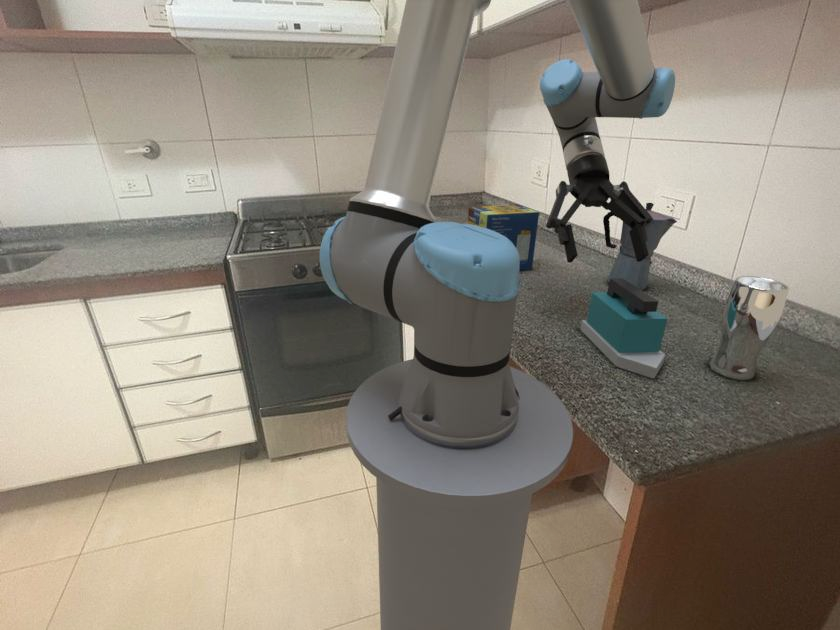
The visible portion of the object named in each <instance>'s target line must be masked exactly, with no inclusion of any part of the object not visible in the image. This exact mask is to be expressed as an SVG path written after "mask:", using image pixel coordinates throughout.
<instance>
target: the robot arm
mask: <svg viewBox="0 0 840 630" xmlns="http://www.w3.org/2000/svg"><path fill="white" fill-rule="evenodd" d="M491 1H492V0H405V4H404V8H403V9H404V10H403V13H402V18H401V22H400V26H399V32H398V36H397V40H396V41H397V42H396V44H395V48H394V54H393V57H392V63H391V67H390V70H389V71H390V72H389V76H388V79H387V85H386V90H385V94H384V98H383V103H382V108H381V112H380V117H379V121H378V126H377V130H376V135H375V139H374V143H373V148H372V152H371V156H370V157H371V158H370V160H369V166H368V171H367V175H366V179H365V184H364V188H363V190H361V191H359V192H358V193H356V194H355V195H353V196H351V197H350V198H349V201H348V205H347V210H346V214H345V216H343V217H340V218H338V219H337V220H335V221H334V222H333V225H332V226H329V227H328V228H327V229H326V231H325V233H324V235H323V237H322V240H321V244H320V246H319V247H320V248H319V266H320V272H321V275H322V277H323V279H324V281H325V283H326V284H327V286H328V288H329V290H330V291H331V292H332V293H333V294H335V296H336V297H339V298H340V299H342V300H344V301H347V302H348V303H349V304H351V305H352V306H354V307H356V308H359V309H365V310H368V311H370V312H374V313H376V314H378V315H381V316H384V317H386V318H388V319H392V320H394V321H396V322H399V323H403V324H405V325H407V326H410V327H412V329H413V357H412V359H413V360H412V362H411V365H410V368H409V370H408V373H407V376H406V378H405V381H404V383H403V386H402V389H401V392H400V396H399V408H398V409H396V410H395V411H394V412H392V413H391V414H389V415H388V417H389V419H390V420H393V419H394V418H395V417H397V416H398V415H399V414H400V417H401V420H402V422H403V424H404V425H405V426H406V427H407V428H408V430H409V431H411V432H412V433H413V434H414V435H416V436H417V437H419V438H421V439H422V440H424V441H427V442H429V443H432V444H434V445H438V446H441V447H446V448H452V449H476V448H482V447H486V446H490V445H493V444H495V443H498V442H500V441H501V440H503V439H505V438H506V437H507V436H508V435H509V434H511V432H512V431H513V430H514V428H515V426H516V424H517V419H518V411H519V404H518V398H519V394H518V391H517V389H516V388H515V385H514V381H513V377H512V373H511V369H510V367H511V366H510V357H511V348H512V341H513V333H514V326H515V325H514V324H515V316H516V309H517V301H518V294H519V291H520V288H521V280H520V271H519V266H520V258H519V253H518V251H517V249H516V247H515V246H514V244H513V243H512V242H511V241H510V240H509V239H508V238H506V237H505V236H503V235H501V234H499V233H497V232H495V231H492V230H490V229H487V228H484V227H480V226H476V225H472V224H468V223H459V222H455V221H437V219H436V217H435V216H434V215H433V213H432V210H430V205H429V204H430V200H431V197H432V194H433V193H432V192H433V189H434V185H435V180H436V176H437V172H438V168H439V165H440V160H441V157H442V156H441V155H442V151H443V147H444V143H445V140H446V135H447V130H448V127H449V123H450V118H451V115H452V110H453V107H454V102H455V98H456V95H457V90H458V85H459V82H460V77H461V73H462V69H463V65H464V61H465V57H466V53H467V50H468V45H469V41H470V37H471V33H472V28H473V24H474V21H475V18H476V17H477V16H479V15H481V14H482V13H484V12H485V11H486V10H487V9H488V8H489V7H490V5H491ZM566 2H567V4H568V7H569V8H570V11H571V14H572V16H573V19H574V20H575V23H576V24H577V27H578V29H579V32H580V34H581V36H582V38H583V41H584V43H585V46H586V47H587V50H588V52H589V55H590V58H591V59H592V62H593V63H594V65H595V68H596V70H597V71H584V72H583V70H582V68H581V67H580V65H579V64H578V63H577V61H575V60H572V59H569V58H568V59H567V58H566V59H561V60H558V61H556V62H554V63H553V64H551V65H550V66H549V67H547V69H546V70H545V71H544V72H543V73H542V76H541V78H540V81H539V89H540V93H541V95H542V98H543V99H542V100H543V103H544V105H545V106H546V109H547V110H548V113H549V115H550V117H551V120H552V122H553V124H554V126H555V129H556V131H557V134H558V136H559V141H560V145H561V148H562V155H563V159H564V164H565V169H566V172H567V178H568V183H569V184H567V182H566V181H565V180H561V181H560V182H559V184H558V185H557V187H556V189H555V200H554V202H553V205H552V208H551V210H550V213H549V216H548V218H547V221H546V223H545V226H546V228H547V229H553V232H554V233H555V234H557V237H558V242H559V244H560V246H563V247H564V251H565V256H566V260H567V263H573V262H574V261H575V259H577V257H578V252H577V251H578V250H577V246H576V242H575V236H574V231H573V227H572V224H569V223H568V222H569V221H570V220H571V218H572V216H573V215H574V214H575V213H576V212H577V210H578V209H579V207H580V206H581V205H582V206H584V207H585V208H592V207H594V208H601V207H602V208H603V209H605V210H606V211H609V212H610V211H611V212H612V213H613V214H615V215H616V216H617V217H618V219H619V220H621V221H622V223H623V222H624V223H625V224H627V225H628V226H629V227H630V228H631V229H632V230H631V231H630V232H629V233H630V237H631V241H632V244H633V248H634V252H635V256H636V260H637V262H641V261H642V260H643V259H644V258H645V257H647V256H648V255H649V253H648V250H647V246H646V241H647V239H648V238H647V234H646V230H645V227H647V226H648V225H649V224H650V223H651V222H652V221H653V218H652V216H651V215H650V214H649V213H648V212H647V210H646V207H645V206H644V205H643V204H642V203H641V202H640V200H639V199H638V198H637V197H636V196H635V195H634V194H633V192H632V191H631V190H630V187H629V185H628V183H627V182H626V181H625V180H624V181H623V180H622V181H621V182H620V184H613V183H612V182H611V180H610V169H609V166H608V162H607V159H606V155H605V151H604V147H603V143H602V139H601V136H600V132H599V127H598V123H597V118H617V119H618V118H619V119H620V118H621V119H624V118H625V119H639V120H641V119H648V118H649V119H650V118H660V117H662V116H664V115H665V114H666V113H667V111H668V110H669V108H670V105H671V103H672V100H673V97H674V93H675V87H676V73H675V70H673V69H671V68H662V67H661V66H658V67H657V68H655V65H654V62H653V58H652V54H651V50H650V46H649V41H648V38H647V37H648V36H647V33H646V29H645V26H644V21H643V17H642V11H641V9H640V8H641V7H640V4H639V0H566ZM569 193H570V195H571V196H572V197H573V198H574V199H575V200H574V201H573V203H572V204H571V205H570V207H569V208H568V209H567V211H566V212H565V214H564V215H562V217H561V219H559V215H560V212H561V209H562V206H563V204H564V201H565V198H566V197H567V196H568V194H569ZM609 199H610V201H609V202H608V200H609ZM616 216H615V217H616ZM617 217H616V218H617ZM635 222H636V223H635ZM517 396H518V398H517ZM519 400H520V398H519Z"/></svg>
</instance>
